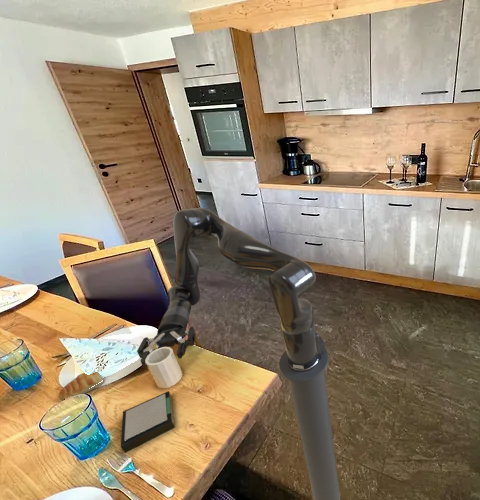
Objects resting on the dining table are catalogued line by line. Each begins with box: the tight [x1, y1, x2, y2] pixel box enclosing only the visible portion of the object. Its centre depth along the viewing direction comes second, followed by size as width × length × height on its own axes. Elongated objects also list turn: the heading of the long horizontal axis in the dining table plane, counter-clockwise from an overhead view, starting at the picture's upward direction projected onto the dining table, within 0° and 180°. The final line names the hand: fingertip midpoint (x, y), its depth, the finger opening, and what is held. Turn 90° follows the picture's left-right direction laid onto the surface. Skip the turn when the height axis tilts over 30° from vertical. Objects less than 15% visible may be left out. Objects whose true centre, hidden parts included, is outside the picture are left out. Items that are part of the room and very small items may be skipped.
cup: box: [145, 347, 183, 389], centre depth 80 cm, size 6×6×9 cm
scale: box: [120, 390, 176, 454], centre depth 70 cm, size 10×10×3 cm
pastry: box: [58, 372, 105, 400], centre depth 80 cm, size 9×7×4 cm
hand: (162, 360), depth 79 cm, fingers open, 8 cm apart
